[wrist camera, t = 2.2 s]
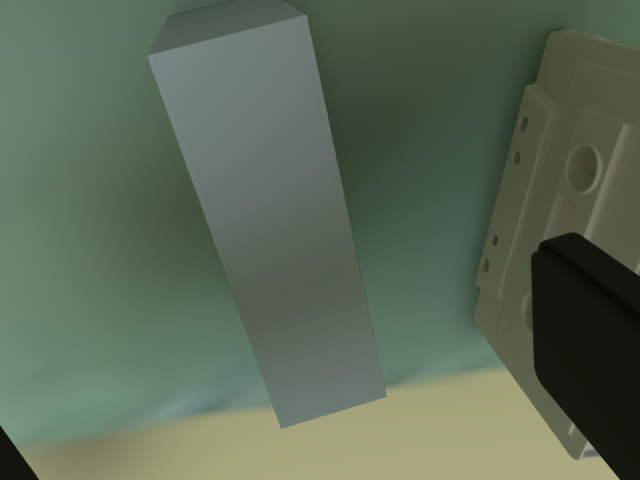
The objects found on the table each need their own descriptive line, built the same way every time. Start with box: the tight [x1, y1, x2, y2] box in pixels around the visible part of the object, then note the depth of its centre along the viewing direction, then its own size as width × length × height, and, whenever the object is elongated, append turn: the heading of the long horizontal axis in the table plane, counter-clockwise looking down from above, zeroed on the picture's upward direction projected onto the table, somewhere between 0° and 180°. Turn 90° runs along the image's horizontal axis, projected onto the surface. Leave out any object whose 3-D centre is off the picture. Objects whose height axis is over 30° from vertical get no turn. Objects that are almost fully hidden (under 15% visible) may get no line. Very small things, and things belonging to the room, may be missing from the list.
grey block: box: [147, 0, 386, 428], centre depth 15 cm, size 3×10×7 cm, turn 12°
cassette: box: [473, 29, 640, 460], centre depth 18 cm, size 12×2×8 cm, turn 175°
